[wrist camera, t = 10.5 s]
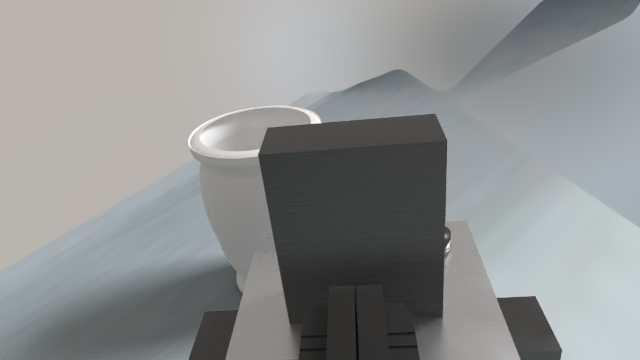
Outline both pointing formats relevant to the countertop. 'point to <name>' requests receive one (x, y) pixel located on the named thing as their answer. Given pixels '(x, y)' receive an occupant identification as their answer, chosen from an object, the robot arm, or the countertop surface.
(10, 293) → the countertop surface
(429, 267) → the lid
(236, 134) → the jar
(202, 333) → the grey rectangular container
